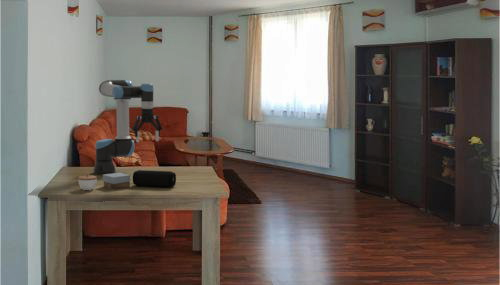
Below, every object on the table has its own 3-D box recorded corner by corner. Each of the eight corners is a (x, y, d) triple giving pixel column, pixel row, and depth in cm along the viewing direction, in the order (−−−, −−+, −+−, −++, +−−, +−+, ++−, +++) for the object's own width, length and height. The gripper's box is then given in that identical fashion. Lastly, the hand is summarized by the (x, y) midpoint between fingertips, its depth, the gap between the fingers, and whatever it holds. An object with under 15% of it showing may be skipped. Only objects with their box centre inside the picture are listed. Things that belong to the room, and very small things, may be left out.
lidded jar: (80, 187, 353) (80, 172, 352) (98, 187, 354) (98, 172, 353) (76, 191, 342) (76, 175, 341) (95, 191, 343) (95, 175, 342)
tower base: (103, 187, 359) (103, 180, 359) (122, 185, 366) (122, 178, 366) (111, 190, 349) (111, 183, 349) (129, 188, 356) (129, 182, 356)
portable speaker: (176, 185, 365) (176, 170, 364) (172, 189, 355) (172, 172, 354) (136, 184, 368) (136, 168, 366) (132, 187, 358) (132, 171, 357)
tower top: (102, 181, 357) (102, 174, 357) (119, 178, 366) (119, 172, 365) (113, 183, 349) (113, 177, 348) (130, 181, 357) (130, 175, 357)
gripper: (131, 108, 355) (131, 143, 358) (167, 108, 370) (167, 141, 373) (126, 108, 361) (126, 142, 364) (162, 107, 376) (162, 139, 379)
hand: (147, 141), depth 368 cm, fingers open, 13 cm apart
